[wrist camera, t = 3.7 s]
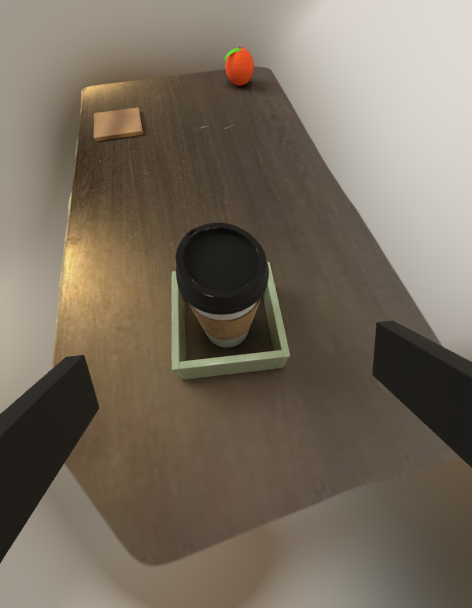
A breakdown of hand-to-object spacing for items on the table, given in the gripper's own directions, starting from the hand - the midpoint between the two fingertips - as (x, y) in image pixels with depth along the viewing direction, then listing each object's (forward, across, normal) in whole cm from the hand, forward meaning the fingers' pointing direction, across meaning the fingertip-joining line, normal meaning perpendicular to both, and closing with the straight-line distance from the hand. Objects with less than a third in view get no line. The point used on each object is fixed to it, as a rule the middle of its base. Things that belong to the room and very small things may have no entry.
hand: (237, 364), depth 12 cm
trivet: (+58, -19, +30) cm, 68 cm away
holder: (+22, 0, -7) cm, 23 cm away
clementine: (+69, +9, +40) cm, 81 cm away
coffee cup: (+22, 0, -7) cm, 23 cm away
